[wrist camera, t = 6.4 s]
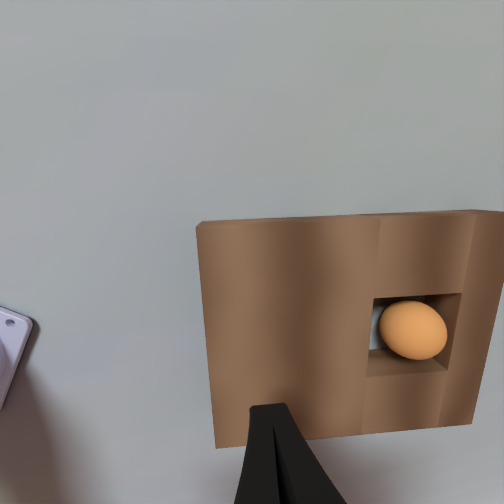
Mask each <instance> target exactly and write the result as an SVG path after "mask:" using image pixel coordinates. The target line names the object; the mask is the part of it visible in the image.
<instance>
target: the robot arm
mask: <svg viewBox="0 0 504 504" xmlns="http://www.w3.org/2000/svg"><path fill="white" fill-rule="evenodd" d="M12 320H13V321H14V322H15V323H13V322H12ZM32 325H33V324H32V321H31V320H30V319H29V318H28V317H26V316H23V315H20V314H18V313H15V312H13V311H10V310H7V309H5V308H2V307H0V411H1V408H2V405H3V403H4V400H5V397H6V395H7V392H8V390H9V387H10V384H11V382H12V379H13V376H14V374H15V371H16V368H17V366H18V363H19V360H20V358H21V355H22V353H23V350H24V347H25V345H26V342H27V339H28V337H29V334H30V331H31V329H32ZM249 413H250V418H249V431H248V439H247V446H246V451H245V457H244V462H243V467H242V472H241V477H240V481H239V485H238V489H237V493H236V497H235V502H234V504H347V503H346V502H345V500H344V499H343V498H342V496H341V495H340V493H339V492H338V491H337V489H336V488H335V486H334V485H333V483H332V482H331V480H330V479H329V477H328V476H327V474H326V473H325V471H324V470H323V468H322V467H321V465H320V464H319V462H318V460H317V459H316V457H315V456H314V454H313V452H312V451H311V449H310V448H309V446H308V444H307V442H306V441H305V439H304V437H303V436H302V434H301V432H300V430H299V428H298V427H297V425H296V423H295V421H294V419H293V417H292V415H291V413H290V411H289V409H288V406H287V405H286V404H285V403H274V404H264V405H253V406H251V407H250V408H249Z"/></svg>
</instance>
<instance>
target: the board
mask: <svg viewBox="0 0 504 504" xmlns="http://www.w3.org/2000/svg"><path fill="white" fill-rule="evenodd" d="M196 237H197V248H198V259H199V270H200V281H201V292H202V303H203V314H204V325H205V336H206V347H207V358H208V369H209V380H210V391H211V402H212V413H213V424H214V435H215V446H216V449H218V448H228V447H238V446H247V439H248V431H249V418H250V413H249V408H250V407H251V406H253V405H264V404H274V403H285V404H286V405H287V406H288V409H289V411H290V413H291V415H292V417H293V419H294V421H295V423H296V425H297V427H298V428H299V430H300V432H301V434H302V436H303V437H304V439H305V440H311V439H322V438H332V437H343V436H353V435H363V434H374V433H384V432H395V431H405V430H415V429H426V428H436V427H447V426H457V425H468V424H472V420H473V415H474V411H475V407H476V402H477V398H478V393H479V389H480V384H481V380H482V376H483V371H484V367H485V362H486V358H487V353H488V349H489V345H490V340H491V336H492V331H493V327H494V322H495V318H496V314H497V309H498V305H499V300H500V296H501V291H502V287H503V283H504V212H500V211H487V210H453V211H430V212H406V213H383V214H360V215H336V216H313V217H289V218H266V219H243V220H219V221H202V222H201V223H200V224H199V225H197V226H196ZM418 295H426V298H425V304H426V305H428V306H429V307H431V308H432V309H434V310H435V311H436V312H437V313H438V314H439V315H440V316H441V318H442V319H443V321H444V323H445V325H446V329H447V341H446V344H445V346H444V348H443V349H442V350H441V351H440V352H439V353H438V354H437V355H435V356H433V357H431V358H428V359H423V360H414V359H409V358H406V357H403V356H401V355H399V354H397V353H396V352H394V351H393V350H392V349H390V348H387V349H374V350H369V342H370V331H371V320H372V310H373V299H374V298H387V297H402V296H418Z"/></svg>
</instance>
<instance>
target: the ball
mask: <svg viewBox="0 0 504 504" xmlns="http://www.w3.org/2000/svg"><path fill="white" fill-rule="evenodd" d="M379 328H380V333H381V336H382V338H383V340H384V341H385V343H386V344H387V345H388V346H389V348H390V349H392V350H393V351H394V352H396V353H397V354H399V355H401V356H403V357H406V358H409V359H414V360H423V359H428V358H431V357H433V356H435V355H437V354H438V353H439V352H440V351H441V350H442V349H443V348H444V346H445V344H446V341H447V329H446V325H445V323H444V321H443V319H442V318H441V316H440V315H439V314H438V313H437V312H436V311H435V310H434V309H432V308H431V307H429V306H428V305H426V304H423V303H421V302H418V301H412V300H403V301H398V302H395V303H393V304H391V305H390V306H388V307H387V308H386V309H385V310H384V312H383V313H382V315H381V317H380V322H379Z"/></svg>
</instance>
